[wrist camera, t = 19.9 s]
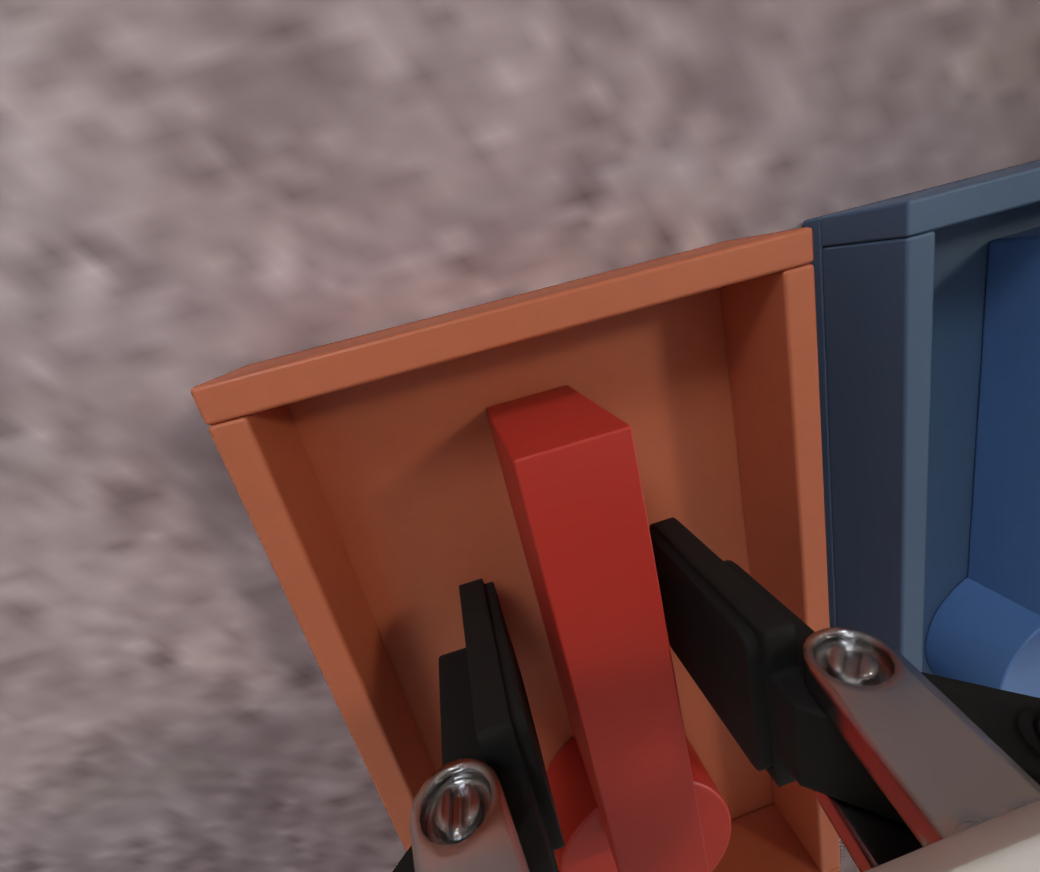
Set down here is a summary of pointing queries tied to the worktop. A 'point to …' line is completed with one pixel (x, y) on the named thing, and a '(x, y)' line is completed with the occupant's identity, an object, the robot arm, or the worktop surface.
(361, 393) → the tray orange
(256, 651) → the worktop surface
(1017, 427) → the blue bar with disc
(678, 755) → the red bar with disc
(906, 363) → the tray blue
